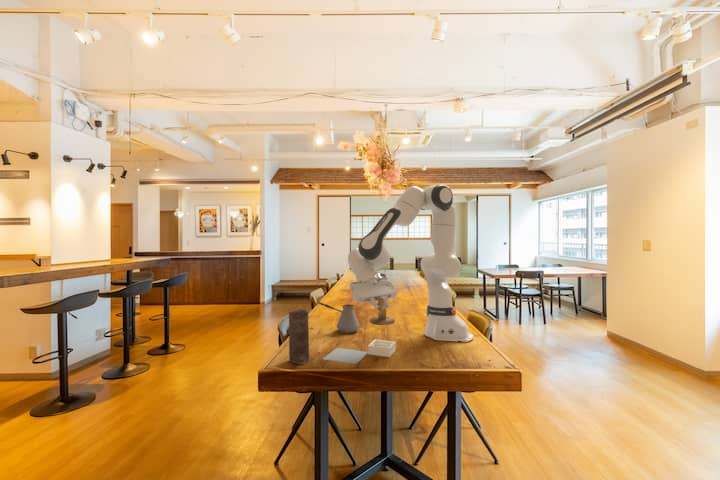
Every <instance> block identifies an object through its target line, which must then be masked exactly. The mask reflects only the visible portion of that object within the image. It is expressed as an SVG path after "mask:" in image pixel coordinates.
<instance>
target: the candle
mask: <svg viewBox="0 0 720 480" xmlns="http://www.w3.org/2000/svg"><path fill="white" fill-rule="evenodd" d="M288 330H289V331H288V338H289V339H288V341H289V342H288V347H289V348H288V355H289V358H288V361H290V363H293V364H299V365H304V364H308V363H310V340H309V339H310V335H309V333H310V332H309V331H310V330H309V310H308V309H307V308H306V309H305V308H297V309H295V310H289V311H288Z"/></svg>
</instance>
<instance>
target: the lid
mask: <svg viewBox="0 0 720 480" xmlns="http://www.w3.org/2000/svg"><path fill="white" fill-rule="evenodd" d="M377 303H379V304H380V308H379V309H377V316H374V317H371V318H369V323H370V324H372V325H376V326H390V325H392V324H395V321H396V320H395V318H393V317H391V316H387V308H386V297H378V300H377Z"/></svg>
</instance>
